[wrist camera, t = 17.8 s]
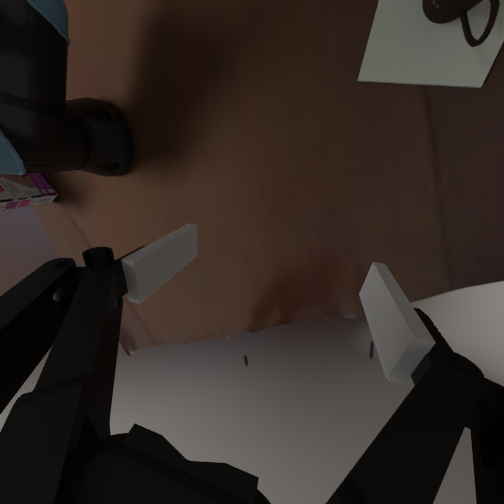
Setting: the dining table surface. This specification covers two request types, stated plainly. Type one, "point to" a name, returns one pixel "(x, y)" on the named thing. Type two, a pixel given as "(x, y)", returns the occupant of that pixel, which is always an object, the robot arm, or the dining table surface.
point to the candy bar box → (25, 191)
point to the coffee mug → (459, 15)
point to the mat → (429, 46)
